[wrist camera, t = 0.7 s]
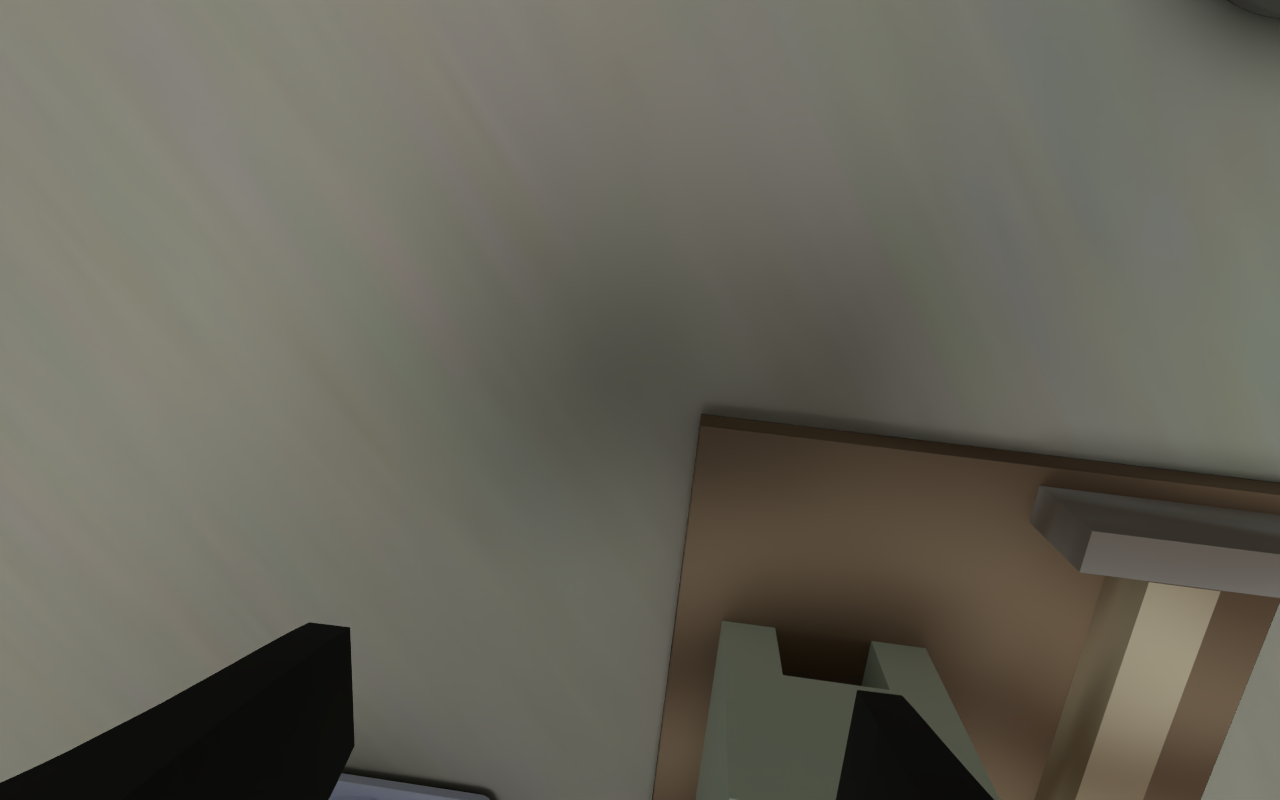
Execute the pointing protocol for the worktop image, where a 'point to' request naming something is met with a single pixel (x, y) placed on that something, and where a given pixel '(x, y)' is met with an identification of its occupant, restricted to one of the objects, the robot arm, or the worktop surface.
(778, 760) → the cabinet block
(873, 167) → the worktop surface
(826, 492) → the cleat board
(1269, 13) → the mug
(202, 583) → the worktop surface
